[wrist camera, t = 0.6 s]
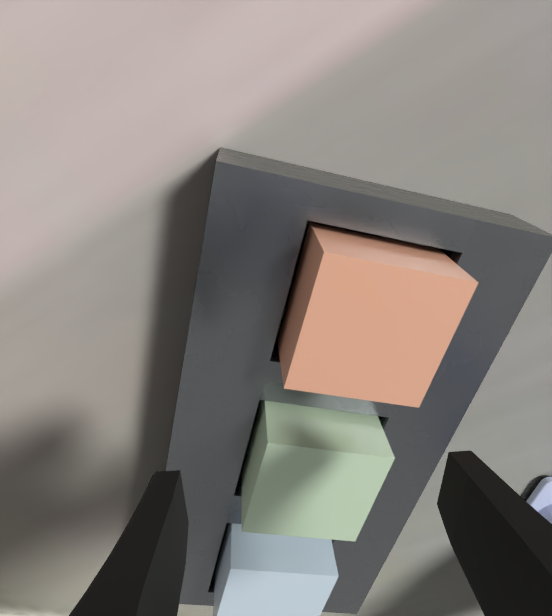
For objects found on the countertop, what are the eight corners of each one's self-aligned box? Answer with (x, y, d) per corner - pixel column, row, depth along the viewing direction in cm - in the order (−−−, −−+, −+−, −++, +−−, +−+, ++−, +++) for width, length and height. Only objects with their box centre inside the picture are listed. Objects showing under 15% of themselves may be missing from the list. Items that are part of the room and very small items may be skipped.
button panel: (511, 214, 18) (559, 238, 15) (345, 562, 28) (356, 613, 25) (220, 147, 16) (216, 160, 13) (154, 548, 26) (144, 601, 23)
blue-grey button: (327, 518, 23) (338, 576, 20) (302, 576, 25) (310, 636, 22) (231, 509, 22) (230, 569, 19) (215, 570, 24) (212, 631, 21)
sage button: (373, 406, 19) (394, 458, 17) (341, 484, 22) (355, 541, 19) (264, 391, 19) (267, 442, 16) (241, 474, 21) (241, 531, 18)
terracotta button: (439, 249, 16) (478, 282, 13) (393, 360, 18) (418, 407, 16) (309, 222, 15) (324, 251, 13) (277, 341, 17) (283, 388, 15)
